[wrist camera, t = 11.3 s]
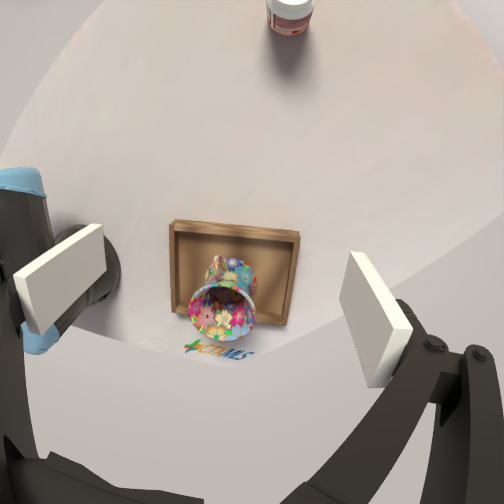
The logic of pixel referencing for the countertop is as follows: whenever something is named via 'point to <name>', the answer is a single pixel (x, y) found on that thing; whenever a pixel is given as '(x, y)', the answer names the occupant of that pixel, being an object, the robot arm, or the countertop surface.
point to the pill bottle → (289, 15)
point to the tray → (240, 247)
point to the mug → (225, 300)
